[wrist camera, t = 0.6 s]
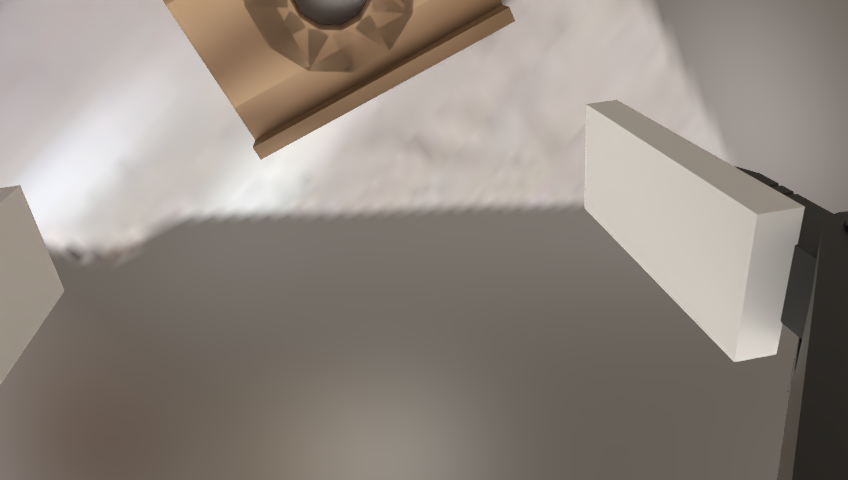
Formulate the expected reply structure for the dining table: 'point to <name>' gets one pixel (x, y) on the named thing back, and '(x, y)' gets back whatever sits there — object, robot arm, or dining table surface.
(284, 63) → the deck
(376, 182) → the dining table surface
